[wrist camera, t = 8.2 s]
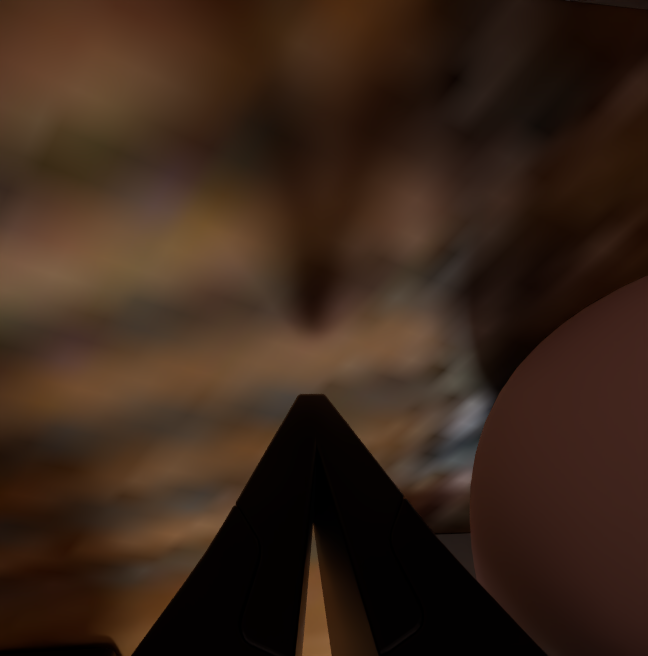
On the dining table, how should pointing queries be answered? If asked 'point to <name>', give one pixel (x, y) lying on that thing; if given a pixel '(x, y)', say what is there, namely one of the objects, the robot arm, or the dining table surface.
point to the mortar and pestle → (571, 485)
